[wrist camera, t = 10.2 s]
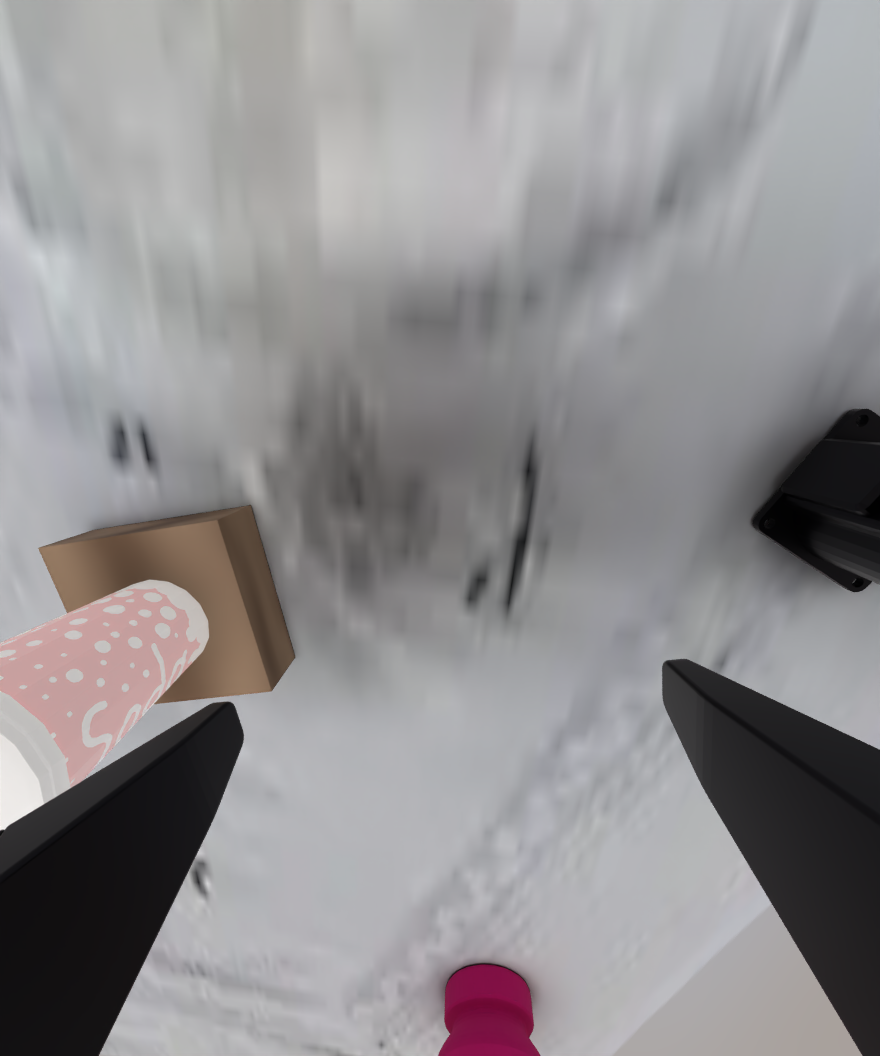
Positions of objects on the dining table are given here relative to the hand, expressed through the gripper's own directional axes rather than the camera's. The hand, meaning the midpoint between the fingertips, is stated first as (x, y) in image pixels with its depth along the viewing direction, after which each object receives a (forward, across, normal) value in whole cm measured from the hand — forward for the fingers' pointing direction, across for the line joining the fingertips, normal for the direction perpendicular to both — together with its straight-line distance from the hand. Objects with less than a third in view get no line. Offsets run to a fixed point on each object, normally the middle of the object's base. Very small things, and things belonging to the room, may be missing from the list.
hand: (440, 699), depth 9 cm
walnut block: (+13, +15, +2) cm, 20 cm away
